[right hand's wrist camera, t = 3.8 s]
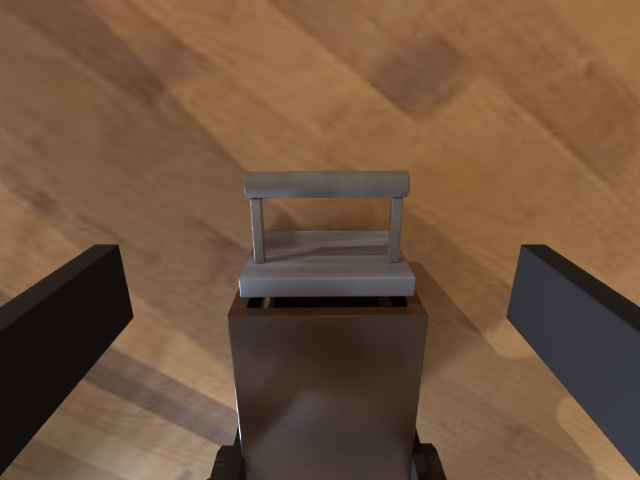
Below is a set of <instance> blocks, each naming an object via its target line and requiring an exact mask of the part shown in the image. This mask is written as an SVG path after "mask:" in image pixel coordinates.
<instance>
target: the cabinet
mask: <svg viewBox="0 0 640 480" xmlns="http://www.w3.org/2000/svg"><path fill="white" fill-rule="evenodd" d="M389 297H390V299H391V302H392V305H393V307H335V308H260V307H261V303H262V300H263V297H241V296H240V287H239V289H238V291H237V294H236V296H235V299H234V301H233V304H232V306H231V309H230V311H229V313H228V316H227V323H228V332H229V341H230V350H231V359H232V368H233V377H234V386H235V395H236V404H237V413H238V422H239V430H240V439H241V448H242V457H243V466H244V475H245V480H409V479H410V470H411V461H412V453H413V444H414V436H415V427H416V418H417V410H418V401H419V392H420V384H421V375H422V366H423V358H424V349H425V340H426V332H427V323H428V314H427V312H426V310H425V308H424V307H423V304H422V302H421V300H420V298H419V296H418V294H417V292H416V290H414V296H389Z"/></svg>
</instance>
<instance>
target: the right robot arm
mask: <svg viewBox="0 0 640 480" xmlns="http://www.w3.org/2000/svg"><path fill="white" fill-rule="evenodd" d="M133 318H134V316H133V311H132V307H131V302H130V297H129V292H128V288H127V283H126V278H125V273H124V269H123V264H122V259H121V254H120V249H119V245H94V246H92V247H91V248H89V249H88V250H86V251H85V252H83V253H82V254H80V255H78V256H77V257H75V258H74V259H72V260H71V261H69V262H68V263H66V264H65V265H63V266H62V267H60V268H59V269H57V270H56V271H54V272H53V273H51V274H50V275H48V276H47V277H45V278H44V279H42V280H41V281H39V282H38V283H36V284H35V285H33V286H32V287H30V288H29V289H27V290H26V291H24V292H23V293H21V294H20V295H18V296H17V297H15V298H14V299H12V300H11V301H9V302H7V303H6V304H4V305H3V306H1V307H0V476H1V475H2V473H3V472H4V471H5V470H6V469H7V467H8V466H9V465H10V464H11V463H12V461H13V460H14V459H15V458H16V457H17V456H18V454H19V453H20V452H21V451H22V450H23V448H24V447H25V446H26V445H27V444H28V442H29V441H30V440H31V439H32V438H33V436H34V435H35V434H36V433H37V432H38V431H39V429H40V428H41V427H42V426H43V425H44V423H45V422H46V421H47V420H48V419H49V417H50V416H51V415H52V414H53V413H54V411H55V410H56V409H57V408H58V407H59V406H60V404H61V403H62V402H63V401H64V400H65V398H66V397H67V396H68V395H69V394H70V392H71V391H72V390H73V389H74V388H75V387H76V385H77V384H78V383H79V382H80V381H81V379H82V378H83V377H84V376H85V375H86V373H87V372H88V371H89V370H90V369H91V367H92V366H93V365H94V364H95V363H96V362H97V360H98V359H99V358H100V357H101V356H102V354H103V353H104V352H105V351H106V350H107V348H108V347H109V346H110V345H111V344H112V342H113V341H114V340H115V339H116V338H117V337H118V335H119V334H120V333H121V332H122V331H123V329H124V328H125V327H126V326H127V325H128V323H129V322H130V321H131V320H132V319H133ZM506 318H507V319H508V320H509V321H510V322H511V323H512V325H513V326H514V327H515V328H516V329H517V331H518V332H519V333H520V334H521V335H522V337H523V338H524V339H525V340H526V341H527V342H528V344H529V345H530V346H531V347H532V348H533V350H534V351H535V352H536V353H537V354H538V356H539V357H540V358H541V359H542V360H543V362H544V363H545V364H546V365H547V366H548V367H549V369H550V370H551V371H552V372H553V373H554V375H555V376H556V377H557V378H558V379H559V381H560V382H561V383H562V384H563V385H564V387H565V388H566V389H567V390H568V391H569V392H570V394H571V395H572V396H573V397H574V398H575V400H576V401H577V402H578V403H579V404H580V406H581V407H582V408H583V409H584V410H585V411H586V413H587V414H588V415H589V416H590V417H591V419H592V420H593V421H594V422H595V423H596V425H597V426H598V427H599V428H600V429H601V431H602V432H603V433H604V434H605V435H606V436H607V438H608V439H609V440H610V441H611V442H612V444H613V445H614V446H615V447H616V448H617V450H618V451H619V452H620V453H621V454H622V456H623V457H624V458H625V459H626V460H627V461H628V463H629V464H630V465H631V466H632V467H633V469H634V470H635V471H636V472H637V473H638V475H639V476H640V307H639V306H637V305H636V304H634V303H633V302H631V301H629V300H628V299H626V298H625V297H623V296H622V295H620V294H619V293H617V292H616V291H614V290H613V289H611V288H610V287H608V286H607V285H605V284H604V283H602V282H601V281H599V280H598V279H596V278H595V277H593V276H592V275H590V274H589V273H587V272H586V271H584V270H583V269H581V268H580V267H578V266H577V265H575V264H574V263H572V262H571V261H569V260H568V259H566V258H565V257H563V256H562V255H560V254H558V253H557V252H555V251H554V250H552V249H551V248H549V247H548V246H546V245H521V249H520V254H519V259H518V264H517V269H516V273H515V278H514V283H513V288H512V292H511V297H510V302H509V307H508V311H507V316H506Z"/></svg>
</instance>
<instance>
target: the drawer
mask: <svg viewBox="0 0 640 480" xmlns="http://www.w3.org/2000/svg"><path fill="white" fill-rule="evenodd" d="M409 188H410V177H409V173H408V171H300V172H245V175H244V193H245V196H246V198H251V199H250V207H251V220H252V233H253V248H252V250H251V252H250V255H249V257H248V259H247V262H246V264H245V266H244V269H243V271H242V273H241V276H240V278H239V287H240V296H241V297H263V300H262V303H261V307H260V308H335V307H393V305H392V302H391V299H390V297H389V296H414V290H415V280H416V278H415V276H414V274H413V272H412V270H411V268H410V266H409V265H408V263H407V261H406V259H405V257H404V255H403V253H402V251H401V250H400V248H399V246H400V233H401V220H402V207H403V198H402V197H407V196H408V193H409ZM358 197H391V205H390V220H389V230H352V231H264V224H263V209H262V198H358Z"/></svg>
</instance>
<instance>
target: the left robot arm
mask: <svg viewBox="0 0 640 480" xmlns="http://www.w3.org/2000/svg"><path fill="white" fill-rule="evenodd" d="M207 480H245V475H244V466H243V457H242V448H241V439H240V430H239V425H238V429H237V433H236V437H235V442H234V445H231V446H222V447H221V448H220V449H219V451H218V452H217V456H216V459H215V463H214V466H213V470H212V473H211V477H210V478H209V479H207ZM409 480H446V477H445V474H444V471H443V468H442V465H441V462H440V459H439V456H438V453H437V450H436V448H435V447H434V446H433V445H432V443H422V444H420V440H419V437H418V434H417V430H416V427H415V436H414V444H413V453H412V461H411V470H410V479H409Z"/></svg>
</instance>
